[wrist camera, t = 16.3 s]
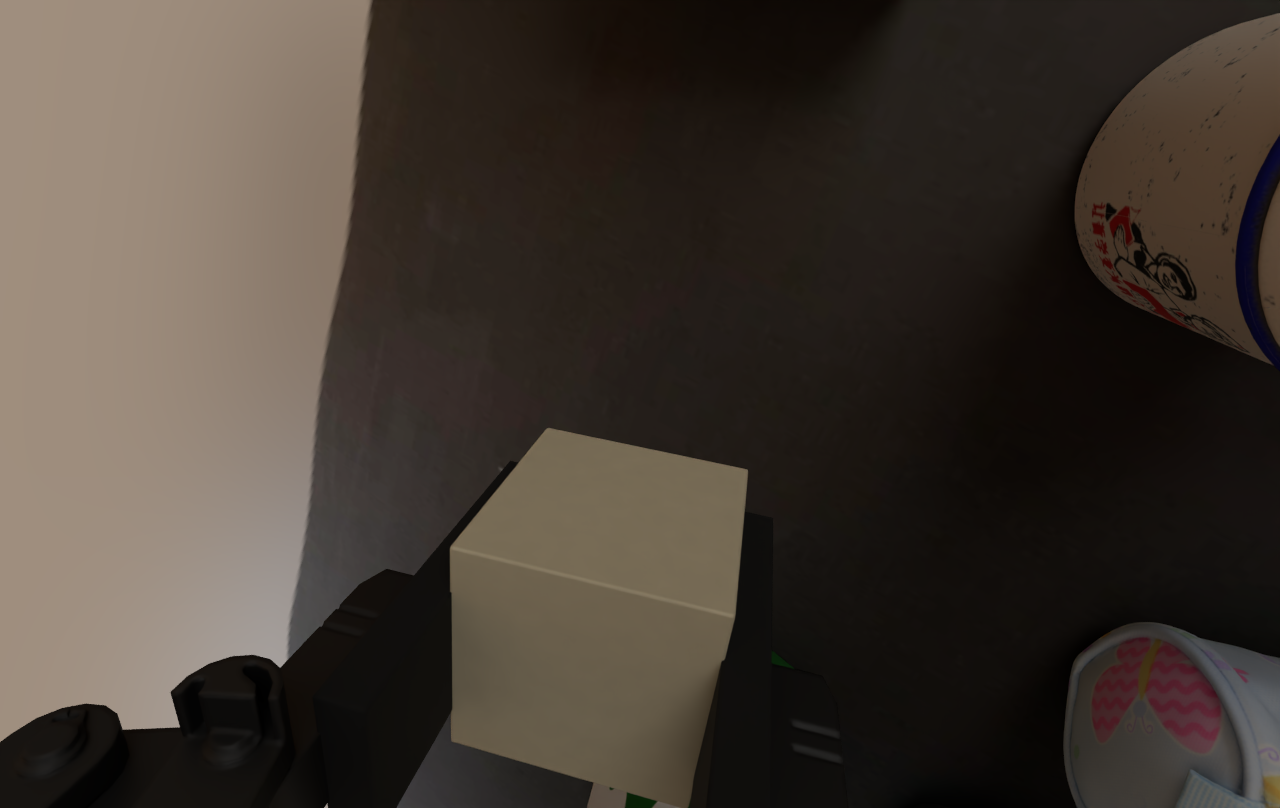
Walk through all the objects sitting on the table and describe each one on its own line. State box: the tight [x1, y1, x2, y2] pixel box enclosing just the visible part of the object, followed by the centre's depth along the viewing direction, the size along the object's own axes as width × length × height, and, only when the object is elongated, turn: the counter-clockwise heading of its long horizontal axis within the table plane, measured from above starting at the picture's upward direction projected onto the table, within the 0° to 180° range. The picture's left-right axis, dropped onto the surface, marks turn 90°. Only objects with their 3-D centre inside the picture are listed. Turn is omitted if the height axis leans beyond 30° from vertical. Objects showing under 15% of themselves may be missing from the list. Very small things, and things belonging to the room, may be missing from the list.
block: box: [450, 428, 748, 808], centre depth 12 cm, size 4×4×4 cm
